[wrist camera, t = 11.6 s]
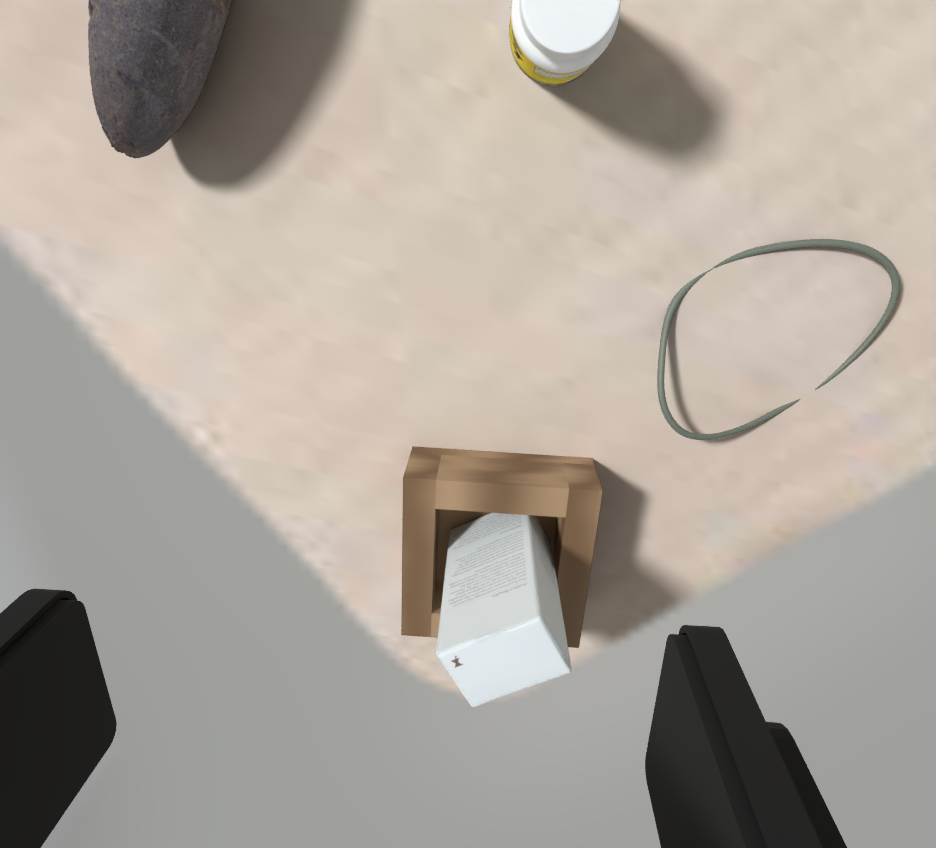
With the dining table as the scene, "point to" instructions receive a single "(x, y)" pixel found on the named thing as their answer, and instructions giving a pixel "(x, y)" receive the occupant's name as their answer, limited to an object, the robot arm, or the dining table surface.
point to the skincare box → (501, 608)
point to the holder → (495, 491)
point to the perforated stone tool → (150, 66)
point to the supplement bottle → (560, 36)
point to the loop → (755, 251)
